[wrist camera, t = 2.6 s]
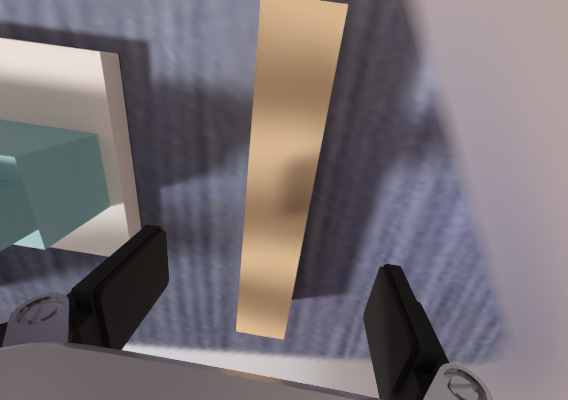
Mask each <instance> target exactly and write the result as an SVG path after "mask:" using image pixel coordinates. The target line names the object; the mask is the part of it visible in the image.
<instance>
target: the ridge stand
mask: <svg viewBox="0 0 568 400" xmlns="http://www.w3.org/2000/svg"><path fill="white" fill-rule="evenodd" d="M140 230H141V222H140V215H139V207H138V200H137V192H136V184H135V177H134V169H133V162H132V154H131V147H130V139H129V132H128V124H127V116H126V109H125V101H124V94H123V86H122V79H121V71H120V64H119V56H118V53H110V52H103V51H96V50H89V49H81V48H74V47H67V46H59V45H52V44H45V43H37V42H30V41H23V40H16V39H8V38H1V37H0V251H2V250H3V249H5V248H7V247H9V246H10V245H12V244H14V245H20V246H26V247H32V248H38V249H44V250H46V249H47V248H49V247H53V248H59V249H65V250H71V251H77V252H83V253H89V254H96V255H102V256H108V257H109V256H111V255H112V254H113V253H114V252H115V251H116V250H118V249H119V248H120V247H121V246H122V245H123V244H125V243H126V242H127V241H128V240H129V239H130V238H132V237H133V236H134V235H135V234H136V233H137V232H139V231H140Z"/></svg>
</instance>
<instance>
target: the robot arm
mask: <svg viewBox="0 0 568 400" xmlns="http://www.w3.org/2000/svg"><path fill="white" fill-rule="evenodd" d="M168 282H169V271H168V256H167V242H166V232H165V231H163V230H162V227H160V226H154V225H146V226H144V227H143V228H142V229H141V230H140V231H139V232H137V233H136V234H135V235H134V236H133V237H132V238H130V239H129V240H128V241H127V242H126V243H125V244H123V245H122V246H121V247H120V248H119V249H118V250H116V251H115V252H114V253H113V254H112V255H111V256H109V257H108V258H107V259H106V260H105V261H104V262H102V263H101V264H100V265H99V266H98V267H97V268H95V269H94V270H93V271H92V272H91V273H90V274H89V275H87V276H86V277H85V278H84V279H83V280H82V281H80V282H79V283H78V284H77V285H76V286H75V287H73V288H72V291H71V292H70V293H69V294H68V295H66V296H65V295H63V294H60V293H49V294H44V295H40V296H37V297H34V298H32V299H30V300H28V301H26V302H24V303H23V304H21V305H20V306H18V307H17V308H16V309H15V310H14V311H13V312H12V314H11V316H10V318H9V321H8V322H6V323H3V324H0V400H493V398H492V396H491V393H490V391H489V390H488V388H487V387H486V385H485V384H484V383H483V382H482V381H481V380H480V379H479V377H477V376H476V375H475V374H474V373H472V372H471V371H469V370H468V369H466V368H464V367H463V366H460V365H457V364H452V363H449V361H448V359H447V357H446V355H445V353H444V351H443V348H442V346H441V344H440V342H439V340H438V338H437V336H436V334H435V332H434V330H433V328H432V326H431V323H430V321H429V319H428V317H427V315H426V313H425V311H424V309H423V307H422V305H421V303H420V302H418V301H417V300H416V298H415V296H414V294H413V292H412V290H411V287H410V285H409V283H408V281H407V279H406V277H405V274H404V272H403V270H402V268H401V267H400V266H397V265H391V264H385V265H384V267H382V266H381V267H380V268H379V270H378V273H377V276H376V279H375V282H374V285H373V288H372V291H371V294H370V297H369V300H368V303H367V305H366V308H365V311H364V325H365V330H366V335H367V339H368V344H369V349H370V354H371V359H372V364H373V369H374V373H375V378H376V383H377V388H378V393H379V398H380V399H378V398H373V397H368V396H364V395H359V394H354V393H349V392H344V391H339V390H334V389H329V388H324V387H319V386H313V385H308V384H303V383H298V382H293V381H287V380H282V379H277V378H272V377H266V376H261V375H256V374H250V373H245V372H239V371H234V370H229V369H223V368H218V367H213V366H207V365H202V364H196V363H190V362H185V361H179V360H174V359H168V358H163V357H157V356H152V355H146V354H141V353H135V352H129V351H123V350H122V349H123V347H124V346H125V344H126V343H127V342H128V340H129V339H130V337H131V336H132V335H133V333H134V332H135V330H136V329H137V328H138V326H139V325H140V323H141V322H142V321H143V319H144V318H145V316H146V315H147V314H148V312H149V311H150V309H151V308H152V307H153V305H154V304H155V302H156V301H157V300H158V298H159V297H160V295H161V294H162V293H163V291H164V290H165V288H166V287H167V285H168Z"/></svg>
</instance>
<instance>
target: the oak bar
mask: <svg viewBox="0 0 568 400" xmlns="http://www.w3.org/2000/svg"><path fill="white" fill-rule="evenodd" d="M347 9H348V4H342V3H335V2H328V1H320V0H261V2H260V15H259V29H258V42H257V56H256V69H255V83H254V96H253V110H252V123H251V137H250V150H249V164H248V178H247V191H246V205H245V218H244V232H243V245H242V259H241V272H240V286H239V299H238V313H237V326H236V331H237V332H243V333H249V334H254V335H260V336H266V337H272V338H278V339H284V336H285V331H286V325H287V320H288V315H289V310H290V305H291V299H292V294H293V289H294V284H295V279H296V274H297V268H298V263H299V258H300V253H301V248H302V242H303V237H304V232H305V227H306V222H307V216H308V211H309V206H310V201H311V196H312V191H313V185H314V180H315V175H316V170H317V165H318V159H319V154H320V149H321V144H322V139H323V134H324V128H325V123H326V118H327V113H328V108H329V102H330V97H331V92H332V87H333V82H334V76H335V71H336V66H337V61H338V56H339V51H340V45H341V40H342V35H343V30H344V25H345V19H346V14H347Z"/></svg>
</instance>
